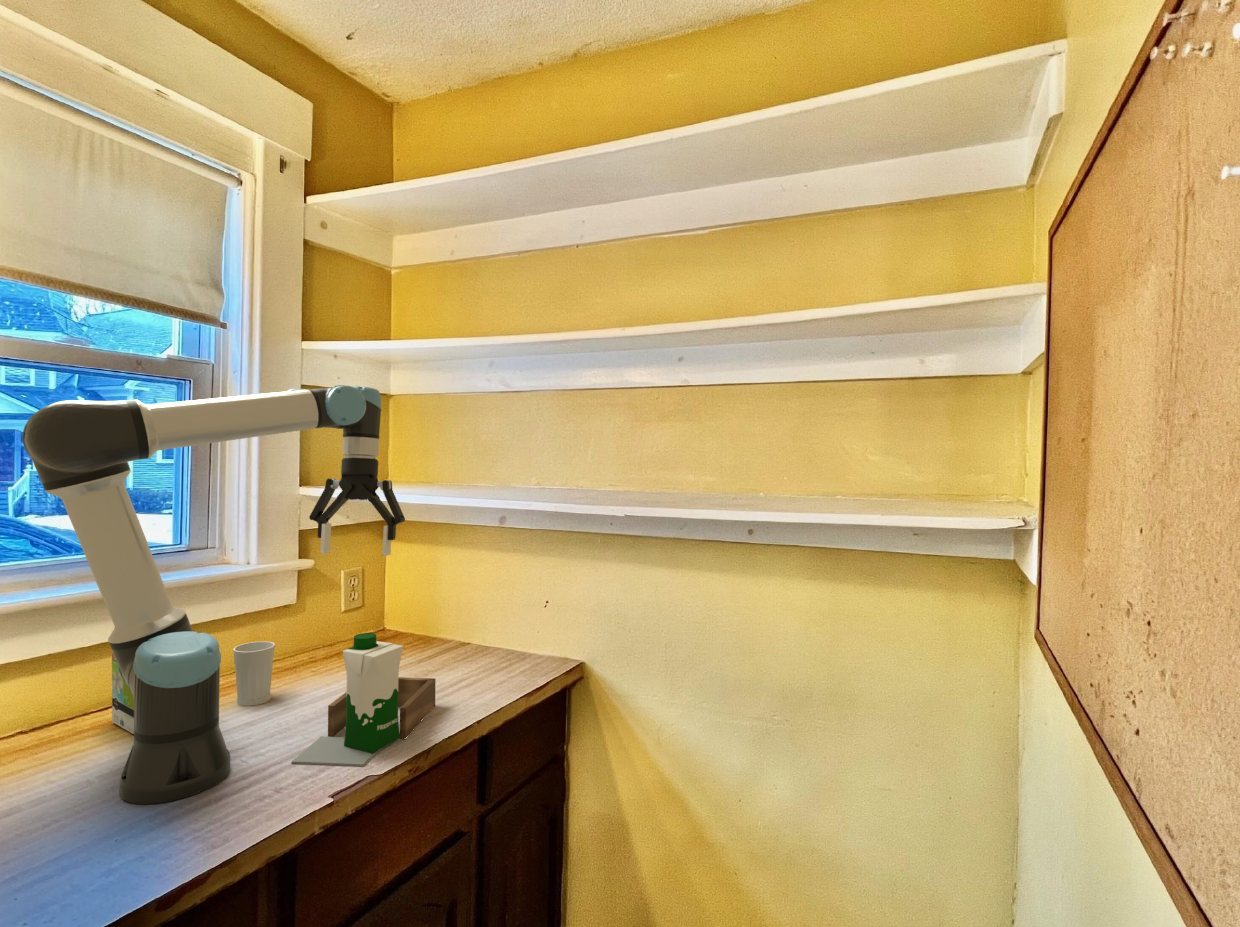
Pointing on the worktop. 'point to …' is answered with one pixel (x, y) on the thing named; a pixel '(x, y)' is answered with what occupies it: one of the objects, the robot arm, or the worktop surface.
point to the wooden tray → (412, 699)
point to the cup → (253, 672)
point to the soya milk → (371, 693)
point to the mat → (332, 753)
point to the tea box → (121, 700)
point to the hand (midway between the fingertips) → (355, 554)
